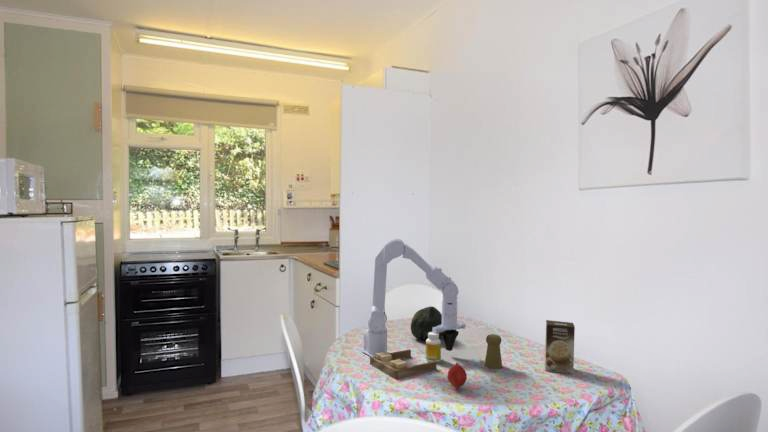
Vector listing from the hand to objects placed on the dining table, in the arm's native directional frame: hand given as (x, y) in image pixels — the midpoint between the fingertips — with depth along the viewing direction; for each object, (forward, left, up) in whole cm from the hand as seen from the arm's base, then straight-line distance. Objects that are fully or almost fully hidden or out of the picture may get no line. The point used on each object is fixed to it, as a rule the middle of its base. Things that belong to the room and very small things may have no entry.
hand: (449, 350), depth 165 cm
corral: (0, -20, -2) cm, 21 cm away
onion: (+24, -17, -3) cm, 30 cm away
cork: (+16, +7, -3) cm, 17 cm away
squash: (-22, +8, -3) cm, 23 cm away
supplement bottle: (0, -7, -3) cm, 8 cm away
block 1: (-4, -26, -2) cm, 27 cm away
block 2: (+5, -26, -2) cm, 27 cm away
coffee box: (+30, +24, -3) cm, 38 cm away
